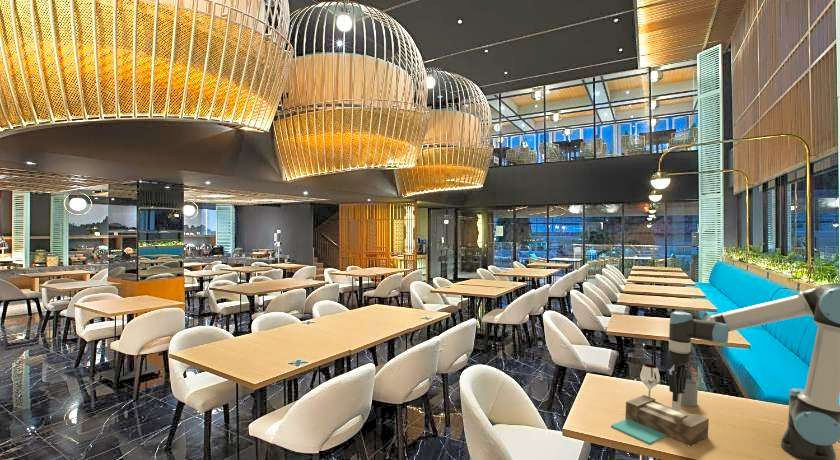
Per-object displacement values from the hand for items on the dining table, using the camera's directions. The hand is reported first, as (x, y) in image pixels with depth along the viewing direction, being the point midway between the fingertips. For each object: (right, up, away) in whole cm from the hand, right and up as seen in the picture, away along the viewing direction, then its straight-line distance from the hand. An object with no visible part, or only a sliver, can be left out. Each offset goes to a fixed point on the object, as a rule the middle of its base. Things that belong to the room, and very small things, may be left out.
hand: (676, 408), depth 173 cm
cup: (+22, -10, +30) cm, 38 cm away
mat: (-16, -9, 0) cm, 18 cm away
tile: (-2, -5, +4) cm, 6 cm away
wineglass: (+3, -9, +26) cm, 28 cm away
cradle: (-2, -10, +4) cm, 10 cm away
